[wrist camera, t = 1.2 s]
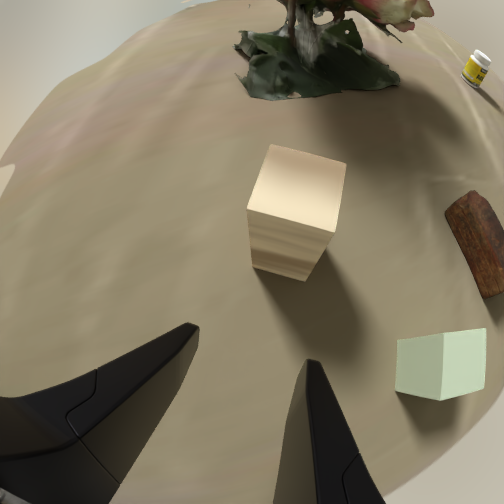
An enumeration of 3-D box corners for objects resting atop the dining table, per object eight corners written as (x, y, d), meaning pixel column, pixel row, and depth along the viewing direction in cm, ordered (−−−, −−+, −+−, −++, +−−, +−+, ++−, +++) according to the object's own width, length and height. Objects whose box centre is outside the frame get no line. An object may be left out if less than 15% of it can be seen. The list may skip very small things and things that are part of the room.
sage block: (434, 384, 19) (483, 388, 12) (394, 390, 19) (440, 400, 12) (436, 337, 20) (486, 327, 14) (397, 340, 21) (443, 332, 14)
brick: (498, 285, 21) (524, 273, 17) (481, 301, 21) (510, 290, 17) (459, 204, 25) (480, 183, 21) (440, 213, 25) (462, 192, 20)
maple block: (304, 281, 23) (334, 232, 13) (252, 267, 23) (246, 208, 14) (316, 233, 24) (346, 163, 15) (267, 220, 25) (270, 144, 15)
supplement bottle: (472, 89, 34) (488, 61, 26) (457, 74, 36) (470, 46, 28) (481, 88, 35) (495, 63, 27) (466, 74, 36) (479, 49, 28)
